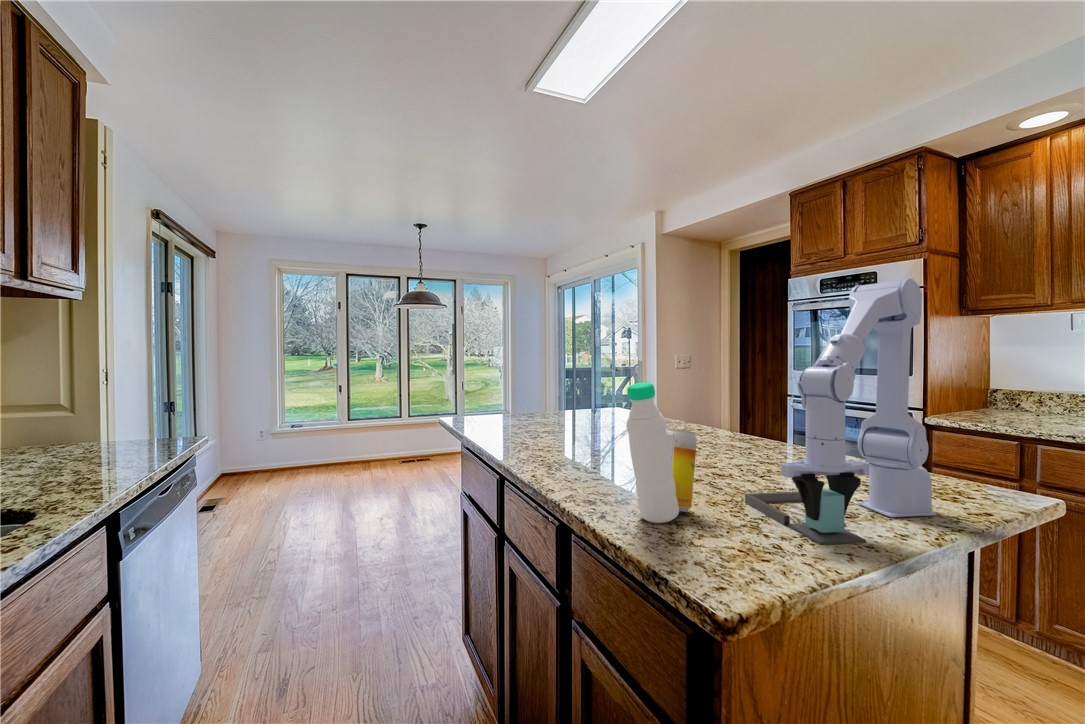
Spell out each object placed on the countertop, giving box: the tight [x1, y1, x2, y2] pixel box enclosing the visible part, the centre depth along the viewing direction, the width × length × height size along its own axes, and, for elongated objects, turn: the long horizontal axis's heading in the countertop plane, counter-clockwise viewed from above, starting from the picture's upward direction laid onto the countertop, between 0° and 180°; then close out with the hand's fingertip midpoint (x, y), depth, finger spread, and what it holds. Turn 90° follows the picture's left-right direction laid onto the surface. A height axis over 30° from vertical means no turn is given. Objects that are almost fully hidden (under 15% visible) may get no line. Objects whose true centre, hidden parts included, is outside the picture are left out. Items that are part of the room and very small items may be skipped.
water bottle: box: [625, 382, 680, 524], centre depth 83 cm, size 7×7×25 cm
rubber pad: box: [787, 522, 867, 545], centre depth 78 cm, size 8×8×1 cm
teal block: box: [804, 488, 845, 533], centre depth 78 cm, size 4×4×6 cm
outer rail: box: [744, 491, 803, 527], centre depth 89 cm, size 14×14×2 cm
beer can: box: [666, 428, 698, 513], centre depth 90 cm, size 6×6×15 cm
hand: (825, 517), depth 77 cm, fingers closed on teal block, 4 cm apart
